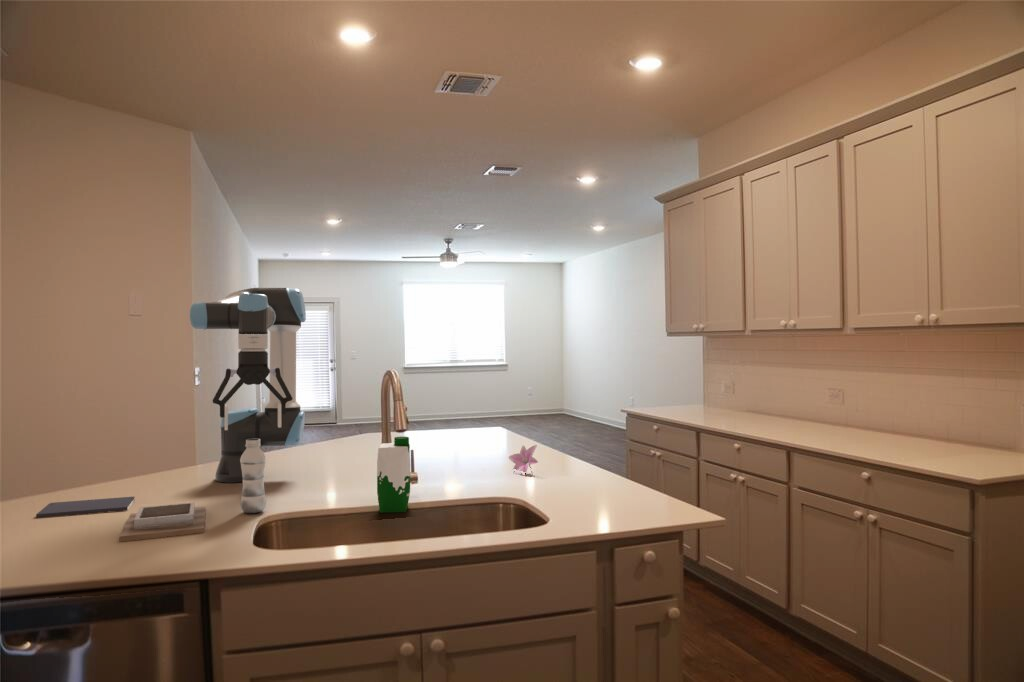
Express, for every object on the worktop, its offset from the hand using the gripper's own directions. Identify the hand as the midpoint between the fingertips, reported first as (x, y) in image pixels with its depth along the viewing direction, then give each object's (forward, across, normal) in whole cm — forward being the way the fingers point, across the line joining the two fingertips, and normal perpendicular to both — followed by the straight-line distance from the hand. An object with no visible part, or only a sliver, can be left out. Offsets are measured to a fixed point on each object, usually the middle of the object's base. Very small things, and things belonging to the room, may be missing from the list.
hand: (253, 428), depth 182 cm
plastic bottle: (+23, 0, 0) cm, 23 cm away
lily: (+23, +90, +18) cm, 95 cm away
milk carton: (+23, +36, -12) cm, 44 cm away
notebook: (+24, -42, +23) cm, 53 cm away
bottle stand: (+23, -21, -4) cm, 31 cm away
